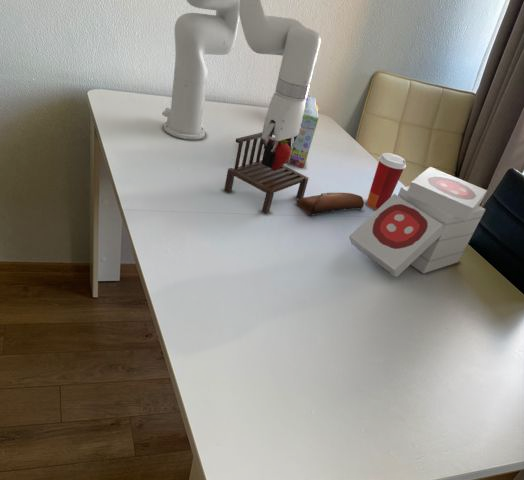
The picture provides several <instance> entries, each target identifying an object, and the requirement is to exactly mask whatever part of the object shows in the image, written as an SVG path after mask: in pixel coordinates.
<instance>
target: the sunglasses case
mask: <svg viewBox="0 0 524 480" xmlns="http://www.w3.org/2000/svg"><path fill="white" fill-rule="evenodd" d="M295 202H296V204H297V206H298V207H299V208H300V209H301V210H302V211H304V213H305V214H307V215H308V216H312V215H315V216H316V215H320V214H325V213H331V212H337V211H346V210H347V211H348V210H357V209H358V210H362V209H363V208H364V205H365V200H364V198H363V197H362V196H361V195H358V194H356V193H351V192H324V193H320V194H319V195H310V196H306V197H303V198H301V199H298V198H297V199H296V201H295Z"/></svg>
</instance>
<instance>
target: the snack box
mask: <svg viewBox="0 0 524 480" xmlns="http://www.w3.org/2000/svg"><path fill="white" fill-rule="evenodd" d="M309 96H310V95H309ZM309 96H307V98H306V101H305V108H304V114H303V119H302V123H301V127H300V128H301V131H300V133H299V134H298V136H297V138H296V140H295V141H294V146H293V147H292V149H291V156H290V158H289V161H288V164H289V165H292V166H296V167H299V168H305V166H306V162H307V159H308V155H309V152H310V149H311V145H312V142H313V139H314V135H315V132H316V128H317V125H318V121H319V112H318V111H317V106H316V102H317V100H316V98H315V97H312V96H310V97H309ZM317 112H318V113H317Z"/></svg>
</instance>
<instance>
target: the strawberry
mask: <svg viewBox="0 0 524 480" xmlns="http://www.w3.org/2000/svg"><path fill="white" fill-rule="evenodd" d="M270 142H271V143H272V146H273V143H274V141H273V140H271V141H270ZM287 142H289V141H287V140H281V141H279V143H278V145H277V147H276V150H275V152H276V155H275V160H274V164H273V167H272V168H271V169H272V170H273V171H276V170H277V169H278V168H280V167H281V166H283V165H284V166H285V165H286V164H287V163H286V162H287V161H288V159H289V158H290V156H291V149H290V146H289V145H288V143H287ZM288 162H289V161H288Z"/></svg>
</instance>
